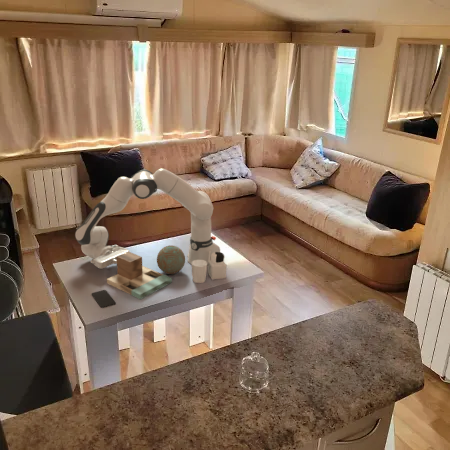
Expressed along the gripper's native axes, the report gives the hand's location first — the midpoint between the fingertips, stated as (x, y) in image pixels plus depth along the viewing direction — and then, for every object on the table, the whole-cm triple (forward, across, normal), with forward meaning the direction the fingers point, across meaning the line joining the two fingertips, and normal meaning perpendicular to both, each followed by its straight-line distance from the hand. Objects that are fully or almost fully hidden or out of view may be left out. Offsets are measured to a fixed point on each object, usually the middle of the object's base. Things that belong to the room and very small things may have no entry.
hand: (122, 262), depth 242 cm
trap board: (+13, 0, +7) cm, 15 cm away
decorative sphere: (+17, +19, +8) cm, 26 cm away
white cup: (+34, +22, +8) cm, 41 cm away
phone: (+12, -22, +8) cm, 26 cm away
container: (+38, +32, +8) cm, 50 cm away
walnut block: (+6, 0, +5) cm, 8 cm away
